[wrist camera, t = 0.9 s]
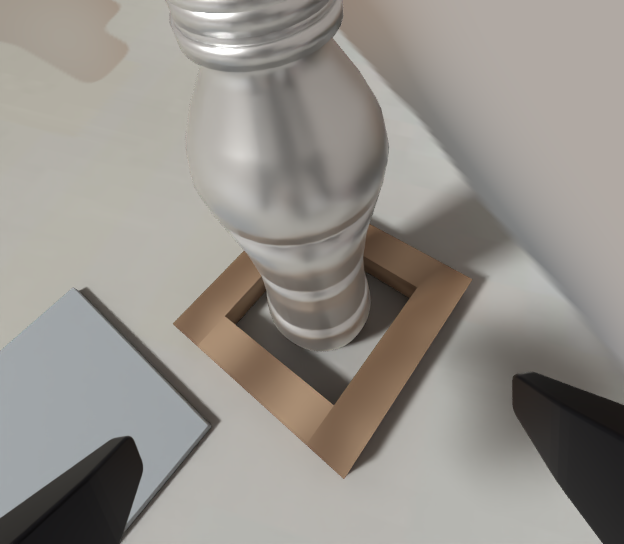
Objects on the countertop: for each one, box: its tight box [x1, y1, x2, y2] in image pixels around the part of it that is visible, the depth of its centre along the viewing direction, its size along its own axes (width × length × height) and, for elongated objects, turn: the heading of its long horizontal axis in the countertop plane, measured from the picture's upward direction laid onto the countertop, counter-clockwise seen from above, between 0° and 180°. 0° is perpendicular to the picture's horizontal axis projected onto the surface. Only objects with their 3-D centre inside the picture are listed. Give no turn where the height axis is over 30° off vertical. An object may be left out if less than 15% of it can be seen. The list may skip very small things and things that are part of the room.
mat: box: [0, 288, 212, 532], centre depth 21 cm, size 16×16×1 cm
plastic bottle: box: [165, 0, 389, 352], centre depth 15 cm, size 6×7×20 cm
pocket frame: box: [173, 224, 472, 479], centre depth 23 cm, size 14×14×2 cm
